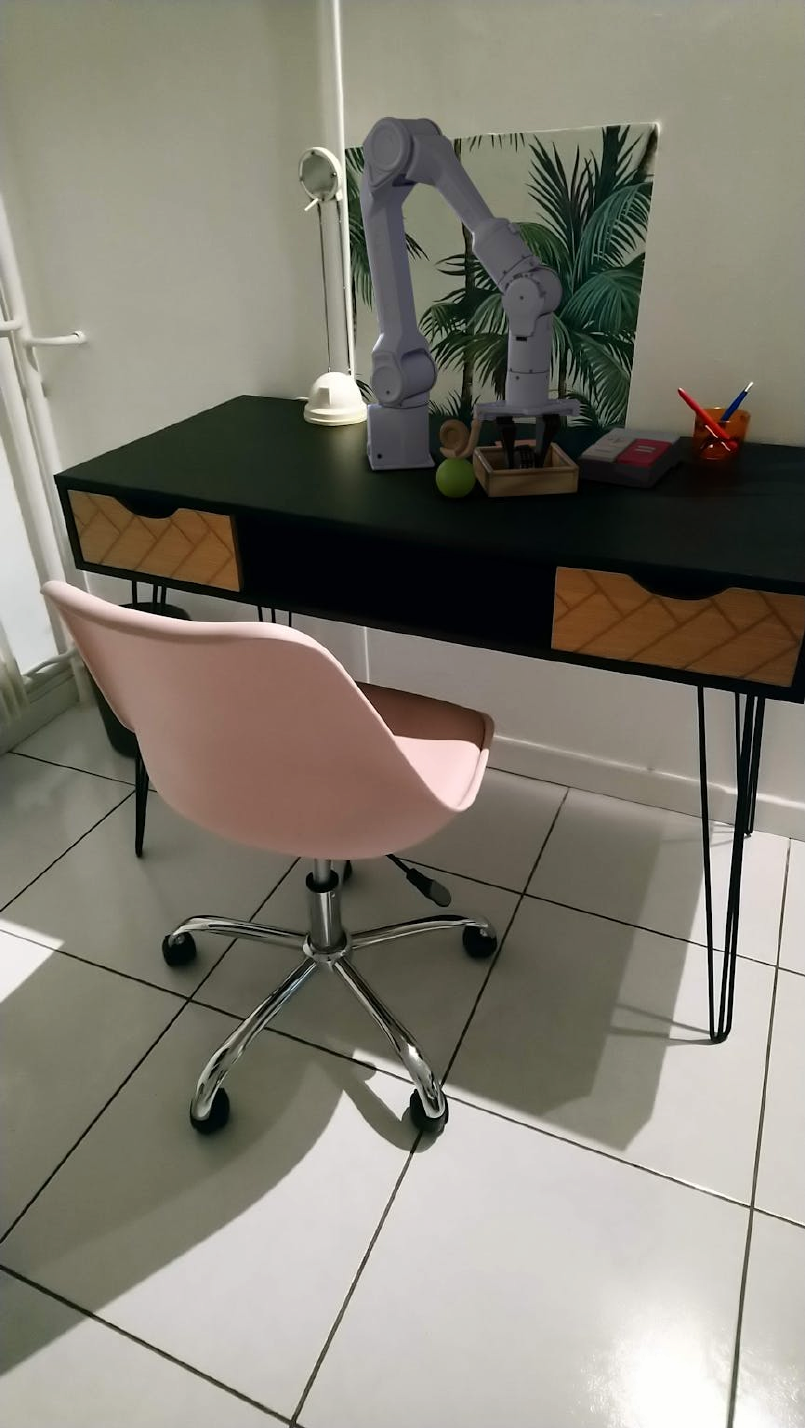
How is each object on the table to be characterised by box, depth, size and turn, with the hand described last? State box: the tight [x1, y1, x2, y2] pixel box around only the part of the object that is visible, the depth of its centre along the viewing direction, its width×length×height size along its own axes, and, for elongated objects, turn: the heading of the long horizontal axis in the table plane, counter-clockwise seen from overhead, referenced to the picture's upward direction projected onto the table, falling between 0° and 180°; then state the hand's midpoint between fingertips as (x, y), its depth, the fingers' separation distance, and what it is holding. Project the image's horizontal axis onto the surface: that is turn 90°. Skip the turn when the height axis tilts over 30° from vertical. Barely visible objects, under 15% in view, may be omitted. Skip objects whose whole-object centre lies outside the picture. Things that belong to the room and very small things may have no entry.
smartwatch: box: [514, 444, 535, 469], centre depth 127 cm, size 4×5×5 cm
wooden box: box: [472, 442, 579, 498], centre depth 127 cm, size 12×12×4 cm
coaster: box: [494, 438, 554, 446], centre depth 141 cm, size 9×9×1 cm
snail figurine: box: [435, 410, 483, 499], centre depth 119 cm, size 5×6×12 cm
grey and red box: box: [576, 427, 684, 490], centre depth 130 cm, size 11×4×15 cm
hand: (523, 469), depth 127 cm, fingers closed on smartwatch, 3 cm apart
